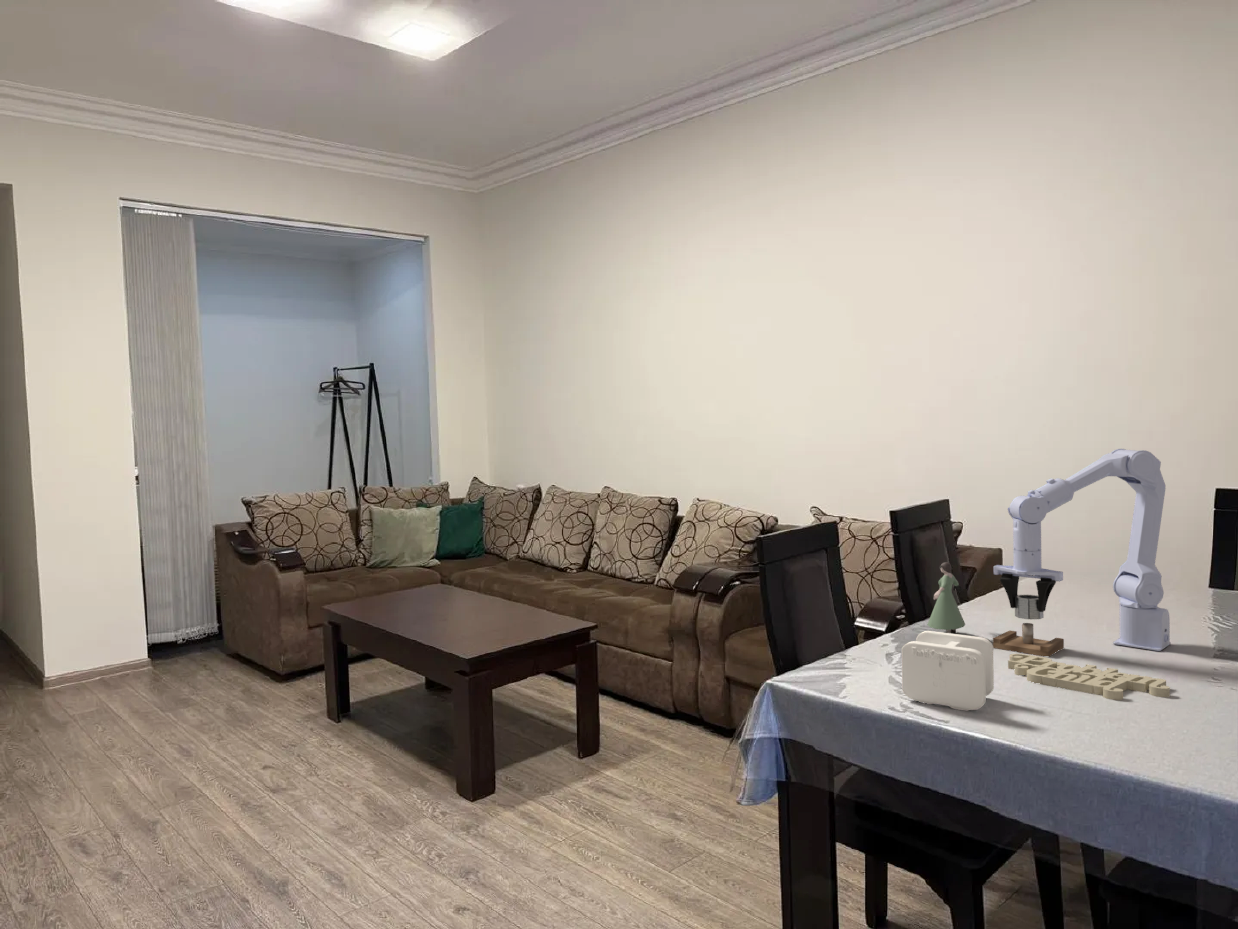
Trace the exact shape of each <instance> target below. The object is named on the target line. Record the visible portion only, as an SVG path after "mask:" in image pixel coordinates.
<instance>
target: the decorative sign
mask: <svg viewBox="0 0 1238 929" xmlns="http://www.w3.org/2000/svg"><path fill="white" fill-rule="evenodd" d="M1007 668H1008V669H1009V670H1014V669H1015V670H1014V675H1016V676H1019V675H1027V676H1026V681H1027V682H1029V681H1031V682H1030V683H1032V682H1034V683H1033V684H1036V683H1040V684H1039V685H1043V686H1047V687H1053V688H1058V687H1061V688H1060V689H1063V688H1065V689H1064V690H1069V691H1074V692H1075V691H1076V692H1080V693H1086V694H1091V695H1095V696H1102V697H1103V698H1104V699H1107V700H1111V701H1122V700H1124V692H1125V691H1127V690H1129V691H1134V692H1139V693H1147V691H1148V690H1149V692H1148V694H1149V695H1151V696H1154V697H1157V698H1170V696H1171V695H1170V692H1171V691H1170V690H1171V687H1170V686H1168V685H1167V680H1166V679H1164V678H1153V677H1151V676H1147V675H1142V676H1141V675H1139V674H1132V673H1129V674H1128V673H1125V672H1119V669H1118V668H1112V667H1107V668H1106V670H1103V671H1102V669H1099V668H1097V665H1095V664H1088V663H1087V664H1085V666H1083V667H1081V666H1079V665H1075V664H1066V663H1065V662H1058V661H1053V659H1051V658H1050V657H1044V656H1038V655H1032V654H1027V653H1012V654H1009V660H1007Z"/></svg>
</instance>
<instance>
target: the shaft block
mask: <svg viewBox="0 0 1238 929" xmlns="http://www.w3.org/2000/svg"><path fill="white" fill-rule="evenodd" d="M1021 630H1022V632H1021V636H1020V635H1017V634H1018V633H1017V632H1018V631H1015V630H1008V631H1006V632H1005V631H1004V632H1003V633H1001V634H999V635H997V636H995V637H993V638H992V645H993V649H997V650H1004V651H1009V650H1011V651H1010V652H1015V651H1017V652H1016V653H1021V652H1023V653H1022V654H1027V653H1028V654H1027V655H1032V654H1033V655H1032V656H1039V657H1044V656H1049V657H1051V656H1053V655H1054V653H1055V652H1056V653H1058V652H1059V651H1058V650H1060V651H1062V650H1063V648H1064V649H1065V647H1064V646H1065V643H1064V642H1065V639H1064V638H1061V637H1055V638H1053V639H1051V640H1046V639H1041V638H1035V637H1034V623H1031V622H1023V623H1022V625H1021ZM1061 649H1062V650H1061ZM1057 651H1058V652H1057ZM1056 653H1055V654H1056ZM1052 654H1053V655H1052Z"/></svg>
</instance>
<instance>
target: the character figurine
mask: <svg viewBox="0 0 1238 929" xmlns="http://www.w3.org/2000/svg"><path fill="white" fill-rule="evenodd" d="M938 568H939V570H940V571H941V573H943V574H944V575H943V576H942V577H940V579H939V580H938V581H937V582H938V585H939V589H938V590H936V592H935V593H934V594H933V600H934V601H935V600H936V601H935V604H934V607H933V609H932V612H931V614H930V617H929V619H928V622H927V626H928V627H929V628H932V629H935V630H945V631H944V632H943V633H951V634H957V630H958V629H962V628H964V627H965V626H966V623H965V621H964V617H963V615H962V614H961V611H960V609H959V607H958V604H957V601H956V599H955V597H954V594H953V593H952V590H953V592H955V590H956V592H957V593H958V594H963V593H964V590H963V587H962V586H961V585H959V581H958V580H957V579H956V576H954V574H953V573H951V571H952V565H951V563H950V562H948V561H945V562H942V563H941V565H939V567H938ZM953 585H954V586H953Z"/></svg>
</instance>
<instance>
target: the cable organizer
mask: <svg viewBox="0 0 1238 929" xmlns="http://www.w3.org/2000/svg"><path fill="white" fill-rule="evenodd" d="M900 651H901V652H900V653H901V691H902V692H903V694H904V695H905V697H907V698H908V699H911V700H914V702H916V701H919V702H924V703H923V704H925V703H927V704H926V705H933V704H936V705H940V706H947V707H949V708H950V709H954V710H958V711H959V710H960V711H965V712H969V711H970V710H971V711H975V710H979V709H981V708H982V707H983V706H984V705H985V704H986V702H987V700H986V698H987V696H989V695H991V693H992V692H993V691H994V688H995V686H994V684H995V680H994V678H995V676H994V675H995V674H994V672H995V671H994V648H993V643H992V642H991V641H990V640H989V639H987V638H984V637H981V636H973V635H965V634H957V633H956V634H951V633H944V632H942V631H934V630H925V631H922V632H920V633H919V634H918V635H917V636H916V639H915V640H912V641H908V642H907V643H905V644H904V645H903V646H902V647H901V650H900ZM919 702H918V703H919Z"/></svg>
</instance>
